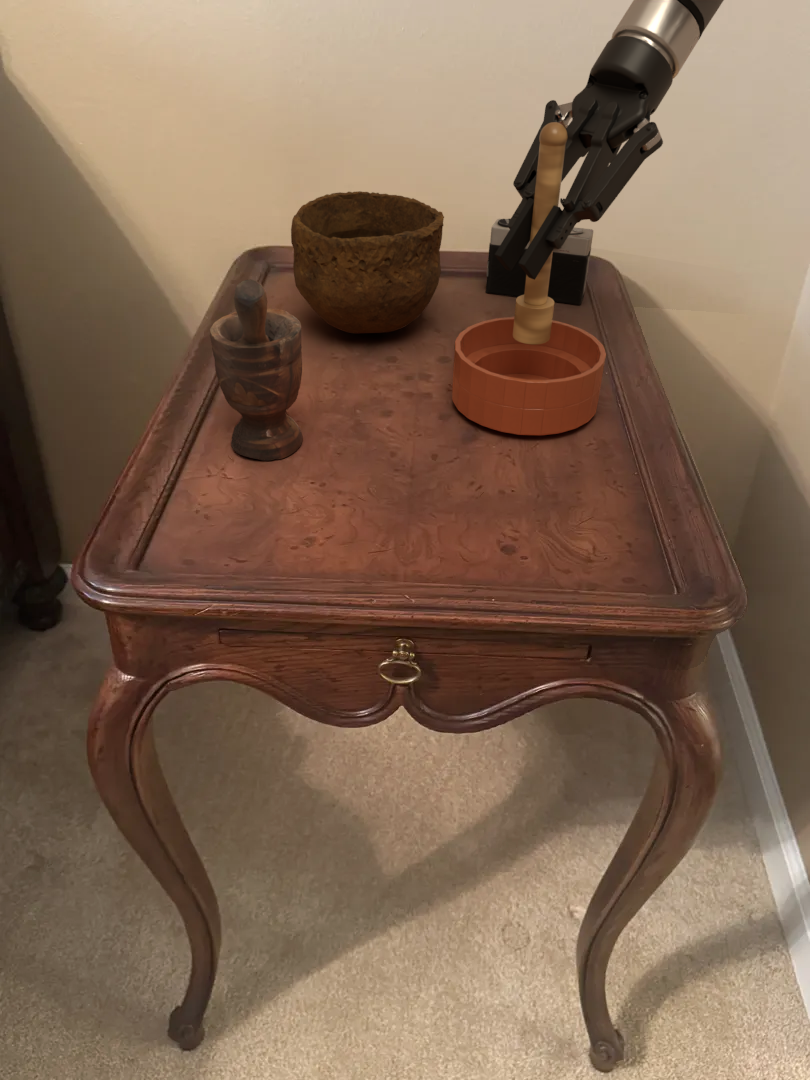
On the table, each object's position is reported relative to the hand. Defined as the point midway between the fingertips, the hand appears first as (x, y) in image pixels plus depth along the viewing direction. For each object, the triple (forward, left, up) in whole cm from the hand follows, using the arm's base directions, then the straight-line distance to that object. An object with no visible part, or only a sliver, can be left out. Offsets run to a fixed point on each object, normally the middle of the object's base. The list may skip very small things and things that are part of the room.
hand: (514, 266), depth 88 cm
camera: (+2, -37, -17) cm, 41 cm away
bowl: (+21, -17, -17) cm, 32 cm away
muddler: (-2, -3, -9) cm, 9 cm away
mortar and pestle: (+21, +15, -17) cm, 31 cm away
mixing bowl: (-2, -3, -17) cm, 17 cm away
